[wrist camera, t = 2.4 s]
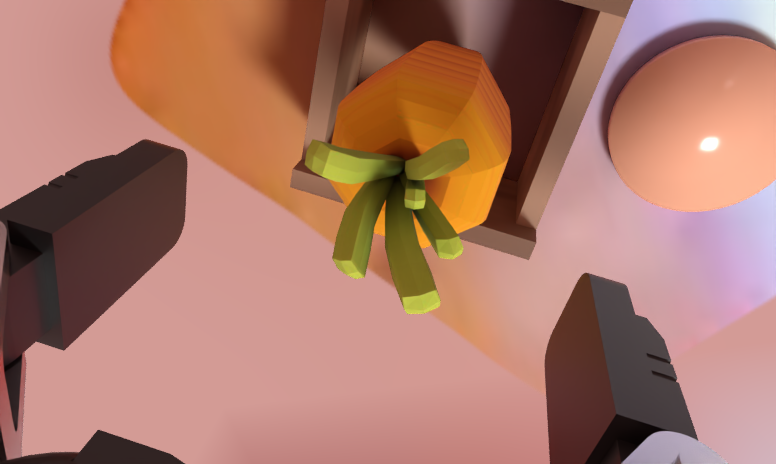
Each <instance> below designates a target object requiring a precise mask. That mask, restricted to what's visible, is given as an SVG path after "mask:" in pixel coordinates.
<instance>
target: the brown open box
mask: <svg viewBox="0 0 776 464" xmlns="http://www.w3.org/2000/svg"><path fill="white" fill-rule="evenodd" d="M561 1H564V2H568V3H572V4H575V5H579V6H583V7H584V10H583V12H582V15H581V17H580V20H579V23H578V25H577V28H576V30H575V33H574V36H573V38H572V41H571V44H570V46H569V49H568V51H567V54H566V57H565V59H564V62H563V64H562V67H561V70H560V72H559V75H558V77H557V80H556V83H555V85H554V88H553V91H552V93H551V96H550V98H549V101H548V104H547V106H546V109H545V111H544V114H543V117H542V119H541V122H540V124H539V127H538V130H537V132H536V135H535V138H534V140H533V143H532V145H531V148H530V151H529V153H528V156H527V158H526V161H525V164H524V166H523V169H522V171H521V174H520V177H519V179H518V182H516V181H513V180H509V179H506V178H503V177H501V180H500V183H499V186H498V188H497V191H496V194H495V197H494V199H493V202H492V205H491V207H490V210H489V213H488V216H487V218H486V220H485V221H484V222H483V223H482V224H479V225H477V226H475V227H472V228H470V229H468V230H465V231H463V232H461V233H458V236H459V238H460V239H462V240H465V241H468V242H472V243H475V244H478V245H482V246H485V247H488V248H491V249H495V250H498V251H501V252H505V253H508V254H511V255H514V256H518V257H521V258H524V259H527V260H529V258H530V256H531V254H532V251H533V249H534V247H535V244H536V228H537V226H538V224H539V221H540V219H541V217H542V214H543V212H544V209H545V207H546V205H547V202H548V200H549V198H550V195H551V193H552V191H553V188H554V186H555V184H556V181H557V179H558V176H559V174H560V172H561V169H562V167H563V165H564V162H565V160H566V158H567V155H568V153H569V150H570V148H571V146H572V143H573V141H574V139H575V136H576V134H577V132H578V129H579V127H580V124H581V122H582V120H583V117H584V115H585V113H586V110H587V108H588V106H589V103H590V101H591V99H592V96H593V94H594V91H595V89H596V87H597V84H598V82H599V80H600V77H601V75H602V73H603V70H604V68H605V65H606V63H607V61H608V58H609V56H610V54H611V51H612V49H613V47H614V44H615V42H616V39H617V37H618V35H619V32H620V30H621V28H622V25H623V23H624V21H625V18H626V16H627V14H628V11H629V9H630V6H631V4H632V2H633V0H561ZM372 5H373V0H326V3H325V10H324V16H323V23H322V29H321V36H320V42H319V49H318V56H317V62H316V69H315V75H314V82H313V88H312V95H311V101H310V108H309V114H308V121H307V128H306V134H305V141H304V147H303V154H302V159H301V161H300V162H299V163H298V164H297V165H296V166H295V167H294V168H293V171H292V178H291V185H290V187H292V188H295V189H298V190H301V191H305V192H308V193H311V194H314V195H318V196H321V197H324V198H328V199H331V200H334V201H337V202H341V203H344V202H343V200H342V199H341V197H340V196H339V195H338V193H337V192H336V190H335V189H334V187H333V186H332V184H331V183H330V181H329V180H328V179H327V178H324V177H322V176H320V175H319V174H317V173H315V172H313V171H311V170H310V169H309V168H308V167H307V166H306V165H305V159H306V152H307V149H308V147H309V145H310V143H311V141H312V139H314V140H318V141H322V142H325V143H329V144H331V143H332V138H333V132H334V127H335V121H336V116H337V110H338V106H339V104H340V102H341V101H342V100H343V99H344V98H345V97H346V96H347V95H348V94H350V93H351V92H352V91H353V90H354V89H355V88H356V87H357V82H358V77H359V72H360V67H361V62H362V57H363V52H364V46H365V41H366V36H367V31H368V26H369V21H370V16H371V10H372ZM344 204H345V203H344Z"/></svg>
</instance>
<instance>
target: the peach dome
mask: <svg viewBox="0 0 776 464" xmlns="http://www.w3.org/2000/svg"><path fill="white" fill-rule="evenodd" d="M608 146H609V151H610V155H611V158H612V161H613V164H614V166H615V169H616V171H617V172H618V174H619V176H620V178H621V179H622V180H623V182H624V183H625V184H626V185H627V187H629V188H630V189H631V190H632V191H633V192H634V193H635V194H637V195H638V196H639V197H641V198H642V199H644V200H646V201H648V202H650V203H652V204H654V205H657V206H660V207H662V208H666V209H671V210H676V211H685V212H699V211H709V210H714V209H719V208H723V207H727V206H730V205H733V204H736V203H738V202H741V201H743V200H745V199H747V198H749V197H751V196H753V195H755V194H756V193H758V192H760V191H761V190H763V189H764V188H765V187H767V186H768V185H770V184H771V183H772V182H773V181H774V180H775V179H776V50H774V49H772V48H770V47H768V46H767V45H765V44H763V43H761V42H758V41H755V40H752V39H749V38H744V37H739V36H729V35H716V36H706V37H701V38H695V39H692V40H689V41H685V42H682V43H680V44H677V45H675V46H673V47H670V48H668V49H667V50H665V51H663V52H661V53H659V54H658V55H656V56H655V57H653V58H652V59H651V60H649V61H648V62H646V63H645V64H644V65H643V66H642V67H641V68H640V69H639V70H638V71H636V72H635V74H634V75H633V76H632V77H631V78H630V79H629V80H628V82H627V83H626V84H625V86H624V87H623V89H622V90H621V92H620V94H619V96H618V97H617V99H616V101H615V103H614V106H613V109H612V112H611V115H610V119H609V124H608Z"/></svg>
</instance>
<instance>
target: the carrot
mask: <svg viewBox="0 0 776 464" xmlns="http://www.w3.org/2000/svg"><path fill="white" fill-rule="evenodd" d="M510 153H511V121H510V111H509V107H508V105H507V103H506V101H505V99H504V97H503V95H502V93H501V91H500V89H499V87H498V85H497V83H496V82H495V80H494V78H493V76H492V74H491V72H490V70H489V68H488V66H487V64H486V62H485V61H484V59H483V57H482V55H481V53H479V52H477V51H474V50H470V49H467V48H463V47H460V46H456V45H453V44H449V43H446V42H442V41H435V40H434V41H427V42H425V43H423V44H421V45H420V46H418V47H416V48H415V49H413V50H411V51H410V52H408V53H406V54H405V55H403V56H401V57H400V58H398V59H396V60H395V61H393V62H392V63H390V64H388V65H387V66H385V67H383V68H382V69H380V70H378V71H377V72H376V73H374V74H373V75H372V76H370V77H369V78H368V79H366V80H365V81H364V82H362V83H361V84H360V85H359V86H358V87H356V88H355V89H354V90H353V91H352V92H351V93H350V94H348V95H347V96H346V97H345V98H344V99H343V100H342V101H341V102H340V104H339V106H338V110H337V116H336V121H335V127H334V132H333V138H332V143H331V144H329V143H325V142H322V141H318V140H314V139H312V141H311V143H310V145H309V147H308V149H307V152H306V159H305V165H306V166H307V167H308V168H309V169H310V170H311V171H313V172H315V173H317V174H319V175H320V176H322V177H324V178H327V179H328V180H329V181H330V183H331V184H332V186H333V187H334V189H335V190H336V192H337V193H338V195H339V196H340V197H341V199H342V200H343V202H344V203H345V205H346V206H347V208H346V210H345V212H344V215H343V218H342V221H341V224H340V228H339V231H338V234H337V237H336V242H335V247H334V252H333V257H332V258H333V260H334V262H335V264H336V266H337V268H338V269H339V270H341V271H342V272H343V273H345V274H346V275H348V276H351V277H352V278H355V279H357V278H363V277H365V274H366V269H367V264H368V260H369V255H370V250H371V244H372V238H373V233H376V234H379V235H382V236H385V249H386V253H387V257H388V262H389V266H390V270H391V274H392V279H393V281H394V284H395V286H396V289H397V292H398V294H399V297H400V300H401V302H402V305H403V307H404V310H405V311H406V313H407V314H423V313H427V312H429V311H431V310H433V309H435V308H437V307H439V306H440V301H441V300H440V297H439V294H438V291H437V288H436V285H435V282H434V279H433V276H432V273H431V271H430V268H429V266H428V264H427V261H426V259H425V257H424V254H423V252H422V250H421V248H425V247H428V246H430V245H432V247H433V248H434V250H435V251H436V253H437V255H438V256H439V258H446V259H454V258H456V257H458V256H459V255H461V254H462V251H463V246H462V243H461V240H460V238H459V236H458V233H461V232H463V231H465V230H468V229H470V228H472V227H475V226H477V225H479V224H482V223H483V222H484V221H485V220H486V218H487V216H488V213H489V210H490V207H491V205H492V202H493V199H494V197H495V194H496V191H497V188H498V186H499V183H500V180H501V177H502V175H503V172H504V169H505V167H506V164H507V161H508V158H509V156H510Z"/></svg>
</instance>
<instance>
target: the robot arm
mask: <svg viewBox="0 0 776 464" xmlns="http://www.w3.org/2000/svg"><path fill="white" fill-rule="evenodd" d="M186 182H187V157H186V154H185V152H184V151H183V150H180V149H177V148H174V147H170V146H167V145H164V144H161V143H157V142H154V141H151V140H142V141H140V142H138V143H136V144H135V145H133V146H131V147H129V148H128V149H126V150H124V151H123V152H121V153H119V154H118V155H116V156H115V155H110V156H106V157H102V158H98V159H94V160H90V161H86V162H84V163H82V164H80V165H79V166H77V167H75V168H73V169H71V170H70V171H68V172H66V173H65V176H63V175H61V176H59V177H57V178H55V179H54V180H52V181H50V182H49V184H48V186H47V185H43V186H41V187H39V188H37V189H36V190H34V191H32V192H31V193H29V194H27V195H25V196H23V197H21V198H20V199H18V200H16V201H14V202H12V203H11V204H9V205H7V206H5V207H4V208H2V209H0V464H185V463H183V462H181V461H180V460H179V459H177V458H176V457H174V456H173V455H171V454H169V453H166V452H163V451H160V450H157V449H154V448H151V447H148V446H145V445H142V444H139V443H136V442H133V441H130V440H127V439H124V438H121V437H118V436H115V435H113V434H109V433H107V432H104V431H100V430H98V431H97V432H96V433H95V434H94V435H93V437H92V438H91V439H90V440H89V441H88V443H87V444H86V445H85V446H84V448H83V449H82V450H81V451H80V452H52V453H44V454H35V455H28V456H24V457H22V434H23V415H24V398H25V396H24V395H25V380H26V357H25V351H26V350H27V349H28V348H29V347H30V346H31V345H32V344H33V343H35V342H40V343H43V344H45V345H49V346H52V347H55V348H58V349H61V350H65V349H66V348H67V347H68V346H69V345H70V344H71V343H73V341H75V340H76V339H77V338H78V337H79V336H80V335H81V334H82V333H83V332H84V331H85V330H86V329H87V328H88V327H89V326H90V325H92V324H93V323H94V322H95V321H96V320H97V319H98V318H99V317H100V316H101V315H102V314H103V313H104V312H105V311H106V310H107V309H108V308H109V307H110V306H112V305H113V304H114V303H115V302H116V301H117V300H118V299H119V298H120V297H121V296H122V295H123V294H124V293H125V292H126V291H127V290H128V289H129V288H131V286H133V285H134V284H135V283H136V282H137V281H138V280H139V279H140V278H141V277H142V276H143V275H144V274H145V273H146V272H147V271H149V270H150V269H151V267H153V266H154V265H155V264H156V263H157V262H158V261H159V260H160V259H161V258H162V257H163V256H164V255H165V254H166V253H167V252H169V250H171V249H172V248H173V246H174V245H175V244H176V243H177V241H178V239H179V237H180V235H181V233H182V230H183V226H184V222H185V206H186ZM670 362H671V359H670V356H669V353H668V350H667V347H666V344H665V341H664V339H663V338H662V337H661V335H660V334H659V333H658V332H657V330H656V329H655V328H654V327H653V325H652V324H651V323H650V322H649V320H648V319H647V318H644V317H641V316H638V315H635V312H634V309H633V305H632V302H631V298H630V295H629V291H628V288H627V286H626V285H625V284H622V283H619V282H615V281H612V280H609V279H605V278H602V277H599V276H596V275H592V274H589V273H584V274H583V275H582V276H581V277H580V279H579V280H578V282H577V284H576V286H575V288H574V290H573V292H572V294H571V296H570V298H569V300H568V302H567V304H566V306H565V308H564V310H563V312H562V314H561V316H560V318H559V320H558V322H557V324H556V326H555V328H554V330H553V332H552V334H551V337H550V340H549V343H548V346H547V350H546V355H545V381H546V399H547V417H548V434H549V450H550V451H549V454H550V464H728V463H727V462H726V461H725V460H724V459H723V458H722V457H721V456H720V455H718V454H717V453H716V452H715V451H713V450H712V449H711V448H709V447H708V446H706V445H705V444H703V443H701V442H699V441H698V438H697V435H696V432H695V429H694V426H693V423H692V420H691V417H690V415H689V412H688V409H687V406H686V403H685V400H684V397H683V394H682V391H681V388H680V385H679V383H677V382H676V380H677V377H676V373H675V371H674V368H673V365H671V364H670Z"/></svg>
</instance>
